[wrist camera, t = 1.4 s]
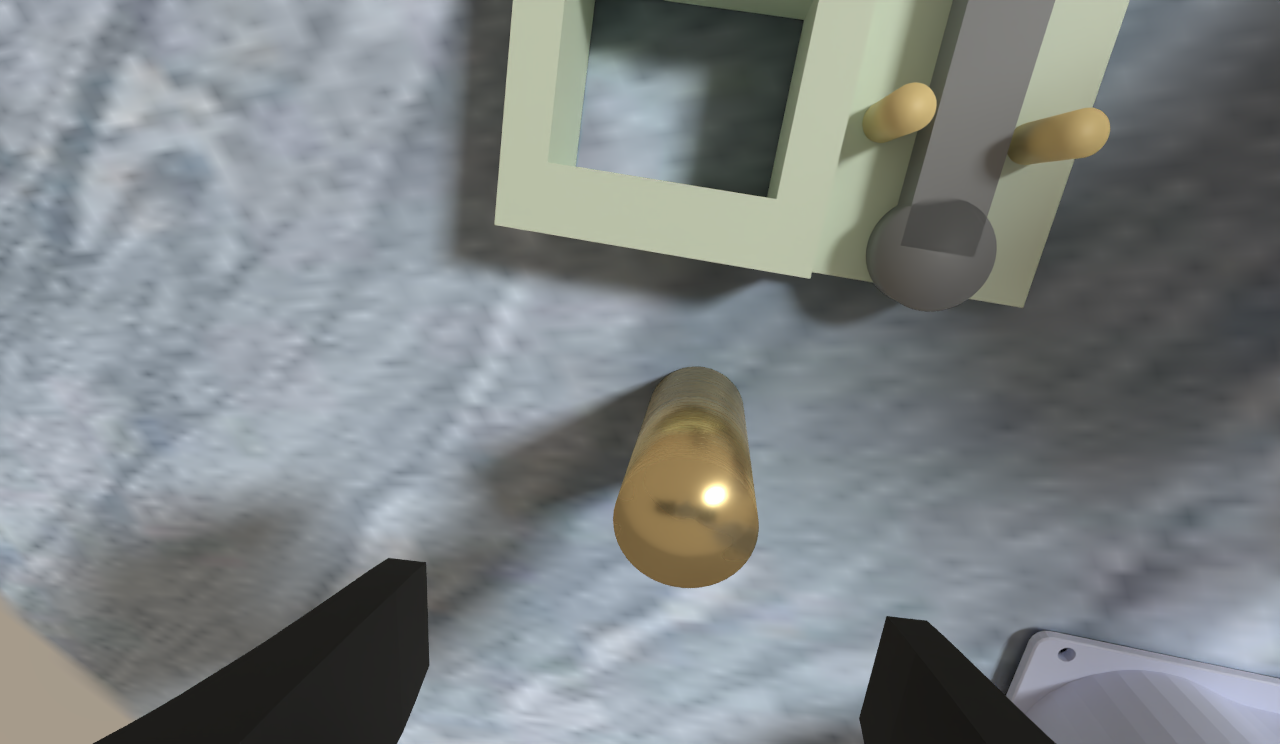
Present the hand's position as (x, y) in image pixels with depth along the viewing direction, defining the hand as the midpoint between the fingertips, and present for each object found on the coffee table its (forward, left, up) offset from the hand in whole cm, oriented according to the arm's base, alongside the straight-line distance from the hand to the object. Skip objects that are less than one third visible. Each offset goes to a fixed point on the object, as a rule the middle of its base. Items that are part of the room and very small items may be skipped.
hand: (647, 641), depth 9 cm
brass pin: (0, 0, -10) cm, 10 cm away
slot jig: (-1, -9, -10) cm, 14 cm away
